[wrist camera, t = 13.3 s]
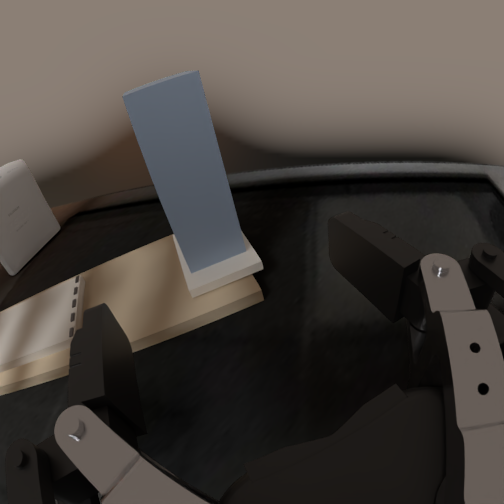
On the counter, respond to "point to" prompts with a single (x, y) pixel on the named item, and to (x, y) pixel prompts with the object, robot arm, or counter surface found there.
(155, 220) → the counter surface
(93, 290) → the perforated strip board
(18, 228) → the photo printer
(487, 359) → the robot arm
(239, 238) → the panel
